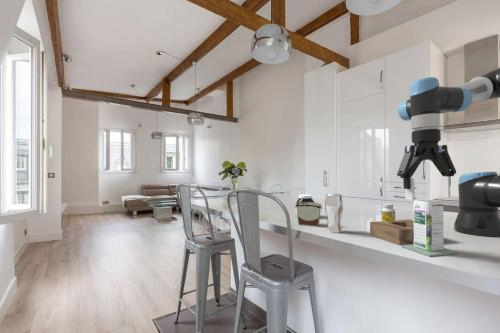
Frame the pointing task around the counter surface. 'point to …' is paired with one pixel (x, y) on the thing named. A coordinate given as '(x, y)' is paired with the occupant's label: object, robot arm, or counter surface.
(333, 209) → the beer glass
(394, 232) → the walnut block
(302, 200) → the spread jar
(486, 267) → the counter surface
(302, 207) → the food container
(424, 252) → the sage rubber mat
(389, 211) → the supplement bottle
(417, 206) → the syrup box
